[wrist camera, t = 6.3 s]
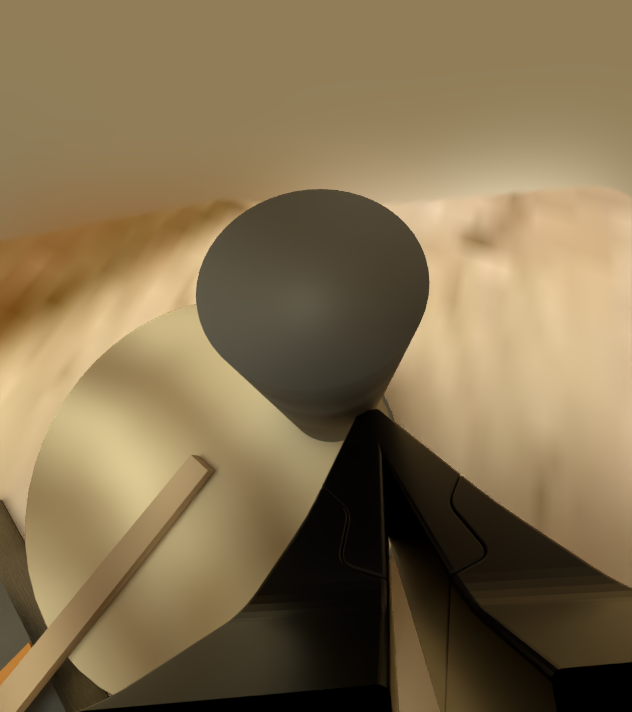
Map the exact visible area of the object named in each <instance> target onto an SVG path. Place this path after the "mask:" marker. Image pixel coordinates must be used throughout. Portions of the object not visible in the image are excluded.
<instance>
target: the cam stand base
mask: <svg viewBox="0 0 632 712" xmlns="http://www.w3.org/2000/svg"><path fill="white" fill-rule="evenodd" d="M382 400H383V402H384V404H385V406H386V409H387V411H388V415H389V418H391V419H392V420H393V421H394V419H393V416H392V412H391V410H390V408H389V406H388V403H387V401H386V399H385V397H384V395H383V397H382ZM389 551H390V559H391V556H392V553H393V550H392V547H390V550H389ZM47 629H48V627H47V625H46V623H45V621H44V619H43V616H42V614H41V611H40V609H39V606H38V604H37V601H36V599H35V595H34V591H33V587H32V583H31V579H30V576H29V572H28V563H27V555H26V546H25V543H24V541H23V539H22V538H21V536H20V534H19V532H18V530H17V528H16V527H15V525H14V523H13V521H12V519H11V517H10V516H9V514H8V512H7V510H6V508H5V506H4V504H3V503H2V501H1V500H0V686H1V685H2V683H3V682H4V681H5V680H6V678H7V677H8V676H9V675H10V674H11V672H12V671H13V670H14V669H15V668H16V666H17V665H18V664H19V663H20V661H21V660H22V659H23V658H24V657H25V655H26V654H27V653H28V652H29V651H30V649H31V648H32V647H33V646H34V644H35V643H36V642H37V641H38V640H39V638H40V637H41V636H42V635H43V634H44V632H45V631H46V630H47ZM107 698H108V696H107V694H106V692H105V690H104V689H102V688H100V687H99V686H98V685H96V684H95V683H94V682H93V681H92V680H90V679H89V678H88V677H87V676H86V675H84V674H83V673H82V672H81V671H80V670H78V669H77V667H76V666H75V665H74V664H73V663H72V661H71V660H70V659H69V658H68V657H67V658H66V659H65V661H64V662H63V663H62V665H61V666H60V667H59V668H58V670H57V671H56V672H55V673H54V675H53V676H52V677H51V678H50V680H49V681H48V682H47V684H46V685H45V686H44V687H43V689H42V690H41V691H40V692H39V694H38V695H37V696H36V697H35V699H34V700H33V701H32V702H31V704H30V705H29V706H28V708H27V709H26V710H25V711H24V712H77V711H80V710H83V709H85V708H87V707H90V706H92V705H94V704H96V703H99V702H101V701H103V700H105V699H107Z"/></svg>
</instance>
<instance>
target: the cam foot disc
mask: <svg viewBox="0 0 632 712" xmlns="http://www.w3.org/2000/svg"><path fill="white" fill-rule="evenodd" d="M428 295H429V272H428V266H427V262H426V258H425V255H424V253H423V250H422V248H421V245H420V244H419V242H418V240H417V239H416V237H415V235H414V234H413V232H412V231H411V230H410V229H409V227H408V226H407V225H406V224H405V223H404V222H403V221H402V220H401V219H400V218H399V217H398V216H397V215H395V214H394V213H393V212H391V211H390V210H389V209H387V208H386V207H384V206H382V205H380V204H379V203H377V202H375V201H373V200H370V199H368V198H365V197H363V196H360V195H356V194H352V193H349V192H344V191H338V190H326V189H318V190H303V191H295V192H291V193H287V194H283V195H280V196H277V197H274V198H271V199H268V200H266V201H264V202H262V203H259V204H257V205H256V206H254V207H252V208H250V209H249V210H247V211H245V212H244V213H243V214H241V215H240V216H238V217H237V218H236V219H235V220H234V221H232V222H231V223H230V224H229V225H228V226H227V227H226V228H225V229H224V230H223V231H222V232H221V233H220V235H219V236H218V237H217V238H216V240H215V241H214V243H213V244H212V245H211V247H210V249H209V250H208V252H207V254H206V256H205V258H204V260H203V263H202V266H201V268H200V271H199V276H198V280H197V288H196V303H197V304H194V305H190V306H186V307H183V308H180V309H177V310H174V311H171V312H168V313H166V314H164V315H162V316H160V317H157V318H155V319H153V320H151V321H149V322H147V323H145V324H144V325H142V326H140V327H139V328H137V329H135V330H134V331H132V332H131V333H129V334H128V335H126V336H125V337H124V338H122V339H121V340H120V341H118V342H117V343H116V344H114V345H113V346H112V347H111V348H110V349H109V350H107V351H106V352H105V353H104V354H103V355H102V356H101V357H100V358H99V359H98V360H97V361H95V363H94V364H93V365H92V366H91V367H90V368H89V369H88V370H87V371H86V373H85V374H84V375H83V376H82V377H81V378H80V379H79V381H78V382H77V384H76V385H75V386H74V388H73V389H72V390H71V392H70V393H69V394H68V396H67V397H66V399H65V400H64V402H63V404H62V405H61V407H60V409H59V410H58V412H57V414H56V416H55V417H54V419H53V421H52V423H51V425H50V428H49V430H48V432H47V434H46V436H45V438H44V440H43V443H42V446H41V449H40V452H39V454H38V457H37V460H36V463H35V466H34V470H33V475H32V479H31V483H30V487H29V492H28V501H27V509H26V517H25V546H26V555H27V563H28V572H29V576H30V579H31V583H32V587H33V591H34V595H35V599H36V601H37V604H38V606H39V609H40V611H41V614H42V616H43V619H44V621H45V623H46V625H47V627H48V629H47V630H46V631H45V632H44V634H43V635H42V636H41V637H40V638H39V640H38V641H37V642H36V643H35V644H34V646H33V647H32V648H31V649H30V651H29V652H28V653H27V654H26V655H25V657H24V658H23V659H22V660H21V661H20V663H19V664H18V665H17V666H16V668H15V669H14V670H13V671H12V672H11V674H10V675H9V676H8V677H7V678H6V680H5V681H4V682H3V683H2V685H1V686H0V712H24V711H25V710H26V709H27V708H28V706H29V705H30V704H31V702H32V701H33V700H34V699H35V697H36V696H37V695H38V694H39V692H40V691H41V690H42V689H43V687H44V686H45V685H46V684H47V682H48V681H49V680H50V678H51V677H52V676H53V675H54V673H55V672H56V671H57V670H58V668H59V667H60V666H61V665H62V663H63V662H64V661H65V659H66V658H67V657H68V658H69V659H70V660H71V661H72V663H73V664H74V665H75V666H76V667H77V669H78V670H80V671H81V672H82V673H83V674H84V675H86V676H87V677H88V678H89V679H90V680H92V681H93V682H94V683H95V684H96V685H98V686H99V687H100V688H102V689H104V690H105V691H107V692H109V693H111V694H112V695H114V694H115V693H117V692H119V691H121V690H122V689H124V688H126V687H127V686H129V685H130V684H132V683H133V682H135V681H136V680H138V679H140V678H141V677H143V676H144V675H146V674H147V673H149V672H150V671H152V670H154V669H155V668H157V667H158V666H160V665H161V664H163V663H164V662H166V661H168V660H169V659H171V658H172V657H174V656H175V655H177V654H178V653H180V652H182V651H183V650H185V649H186V648H188V647H189V646H191V645H192V644H194V643H196V642H197V641H199V640H200V639H202V638H203V637H205V636H206V635H208V634H210V633H211V632H213V631H214V630H216V629H217V628H219V627H220V626H222V625H224V624H225V623H226V622H228V621H229V620H231V619H232V618H233V617H234V616H235V615H236V614H238V612H239V611H240V610H241V609H242V608H243V607H244V606H245V605H246V604H247V603H248V602H249V600H250V599H251V598H252V597H253V595H254V594H255V593H256V591H257V590H258V588H259V587H260V585H261V584H262V582H263V581H264V579H265V578H266V576H267V575H268V574H269V572H270V571H271V569H272V568H273V566H274V565H275V563H276V562H277V560H278V559H279V557H280V556H281V554H282V553H283V551H284V550H285V548H286V547H287V545H288V544H289V542H290V541H291V539H292V538H293V536H294V535H295V533H296V532H297V530H298V529H299V527H300V525H301V524H302V522H303V521H304V519H305V517H306V516H307V514H308V512H309V510H310V508H311V506H312V505H313V503H314V501H315V499H316V497H317V495H318V493H319V491H320V489H321V488H322V485H323V483H324V481H325V479H326V477H327V475H328V473H329V471H330V469H331V467H332V465H333V462H334V460H335V458H336V456H337V454H338V452H339V450H340V448H341V446H342V444H343V442H344V440H345V438H346V436H347V434H348V432H349V430H350V428H351V426H352V424H353V422H354V420H355V418H356V416H358V415H361V414H363V413H364V412H366V411H368V410H370V409H379V410H381V411H382V412H383V413H384V414H386V415H387V416H388V417H389V415H388V411H387V409H386V406H385V404H384V402H383V400H382V397H383V395H384V393H385V391H386V389H387V387H388V385H389V383H390V381H391V379H392V377H393V375H394V373H395V371H396V369H397V367H398V365H399V363H400V361H401V359H402V357H403V355H404V353H405V352H406V350H407V348H408V346H409V344H410V342H411V340H412V338H413V336H414V334H415V332H416V330H417V328H418V326H419V324H420V322H421V319H422V317H423V314H424V312H425V309H426V304H427V300H428ZM390 547H391V543H390V540H389V550H390Z"/></svg>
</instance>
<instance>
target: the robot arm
mask: <svg viewBox="0 0 632 712" xmlns="http://www.w3.org/2000/svg"><path fill="white" fill-rule="evenodd" d="M389 540H390V543H391V547H392V550H393V553H394V557H395V560H396V563H397V567H398V570H399V574H400V577H401V580H402V584H403V587H404V590H405V594H406V597H407V600H408V604H409V607H410V610H411V614H412V617H413V621H414V624H415V627H416V631H417V634H418V637H419V641H420V644H421V647H422V651H423V654H424V658H425V661H426V664H427V668H428V671H429V674H430V678H431V681H432V684H433V688H434V691H435V695H436V698H437V701H438V705H439V708H440V711H441V712H632V588H631V587H629V586H627V585H624V584H622V583H620V582H618V581H617V580H615V579H613V578H611V577H609V576H607V575H606V574H604V573H602V572H601V571H599V570H598V569H596V568H594V567H593V566H591V565H590V564H588V563H587V562H585V561H584V560H582V559H581V558H579V557H578V556H576V555H575V554H573V553H572V552H570V551H569V550H567V549H566V548H564V547H563V546H561V545H560V544H558V543H556V542H555V541H553V540H552V539H550V538H549V537H547V536H546V535H544V534H543V533H541V532H540V531H538V530H537V529H535V528H534V527H532V526H531V525H529V524H528V523H526V522H525V521H523V520H522V519H520V518H519V517H517V516H516V515H514V514H513V513H512V512H510V511H509V510H507V509H506V508H504V507H503V506H501V505H500V504H499V503H497V502H496V501H494V500H493V499H492V498H490V497H489V496H488V495H486V494H485V493H484V492H482V491H481V490H480V489H478V488H477V487H476V486H475V485H473V484H472V483H471V482H470V481H468V480H467V479H466V478H465V477H463V476H460V474H459V473H458V472H457V471H456V470H454V469H453V468H452V467H451V466H449V465H448V464H447V463H446V462H444V461H443V460H442V459H441V458H439V457H438V456H437V455H436V454H434V453H433V452H432V451H431V450H429V449H428V448H427V447H426V446H424V445H423V444H422V443H421V442H419V441H418V440H417V439H416V438H414V437H413V436H412V435H411V434H409V433H408V432H407V431H406V430H404V429H403V428H402V427H401V426H399V425H398V424H397V423H396V422H394V421H393V420H392V419H391V418H389V417H388V416H387V415H386V414H384V413H383V412H382V411H381V410H379V409H370V410H368V411H366V412H364V413H363V414H361V415H358V416H356V418H355V420H354V422H353V424H352V426H351V428H350V430H349V432H348V434H347V436H346V438H345V440H344V442H343V444H342V446H341V448H340V450H339V452H338V454H337V456H336V458H335V460H334V462H333V465H332V467H331V469H330V471H329V473H328V475H327V477H326V479H325V481H324V483H323V485H322V488H321V489H320V491H319V493H318V495H317V497H316V499H315V501H314V503H313V505H312V506H311V508H310V510H309V512H308V514H307V516H306V517H305V519H304V521H303V522H302V524H301V525H300V527H299V529H298V530H297V532H296V533H295V535H294V536H293V538H292V539H291V541H290V542H289V544H288V545H287V547H286V548H285V550H284V551H283V553H282V554H281V556H280V557H279V559H278V560H277V562H276V563H275V565H274V566H273V568H272V569H271V571H270V572H269V574H268V575H267V576H266V578H265V579H264V581H263V582H262V584H261V585H260V587H259V588H258V590H257V591H256V593H255V594H254V595H253V597H252V598H251V599H250V600H249V602H248V603H247V604H246V605H245V606H244V607H243V608H242V609H241V610H240V611H239V612H238V614H236V615H235V616H234V617H233V618H232V619H231V620H229V621H228V622H226V623H225V624H224V625H222V626H220V627H219V628H217V629H216V630H214V631H213V632H211V633H210V634H208V635H206V636H205V637H203V638H202V639H200V640H199V641H197V642H196V643H194V644H192V645H191V646H189V647H188V648H186V649H185V650H183V651H182V652H180V653H178V654H177V655H175V656H174V657H172V658H171V659H169V660H168V661H166V662H164V663H163V664H161V665H160V666H158V667H157V668H155V669H154V670H152V671H150V672H149V673H147V674H146V675H144V676H143V677H141V678H140V679H138V680H136V681H135V682H133V683H132V684H130V685H129V686H127V687H126V688H124V689H122V690H121V691H119V692H117V693H115V694H114V695H112V696H110V697H108V698H107V699H105V700H103V701H101V702H99V703H96V704H94V705H92V706H90V707H87V708H85V709H83V710H80V711H77V712H399V699H398V683H397V666H396V650H395V633H394V617H393V601H392V584H391V568H390V551H389Z"/></svg>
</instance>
